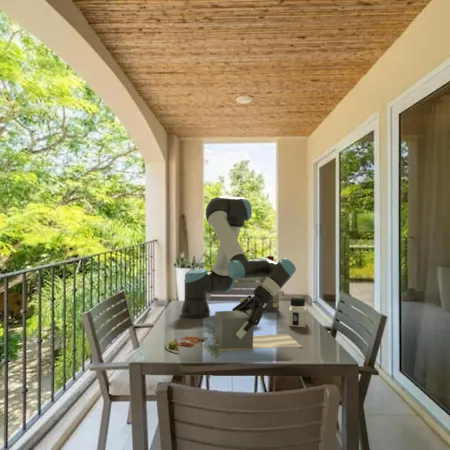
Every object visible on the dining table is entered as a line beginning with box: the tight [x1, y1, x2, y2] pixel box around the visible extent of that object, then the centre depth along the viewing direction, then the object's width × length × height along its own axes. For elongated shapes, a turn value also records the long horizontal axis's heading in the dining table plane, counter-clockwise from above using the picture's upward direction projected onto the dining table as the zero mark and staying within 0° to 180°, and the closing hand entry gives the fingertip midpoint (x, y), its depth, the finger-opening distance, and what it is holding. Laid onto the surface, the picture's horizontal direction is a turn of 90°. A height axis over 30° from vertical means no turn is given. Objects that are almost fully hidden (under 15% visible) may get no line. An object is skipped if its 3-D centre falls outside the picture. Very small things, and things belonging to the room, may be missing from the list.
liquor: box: [260, 255, 280, 313], centre depth 210 cm, size 9×9×30 cm
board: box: [212, 333, 303, 352], centre depth 149 cm, size 16×32×2 cm, turn 101°
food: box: [164, 335, 205, 354], centre depth 147 cm, size 18×17×3 cm
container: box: [288, 296, 307, 328], centre depth 181 cm, size 8×8×13 cm
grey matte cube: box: [214, 310, 254, 349], centre depth 147 cm, size 12×12×11 cm
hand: (231, 331), depth 146 cm, fingers open, 13 cm apart
